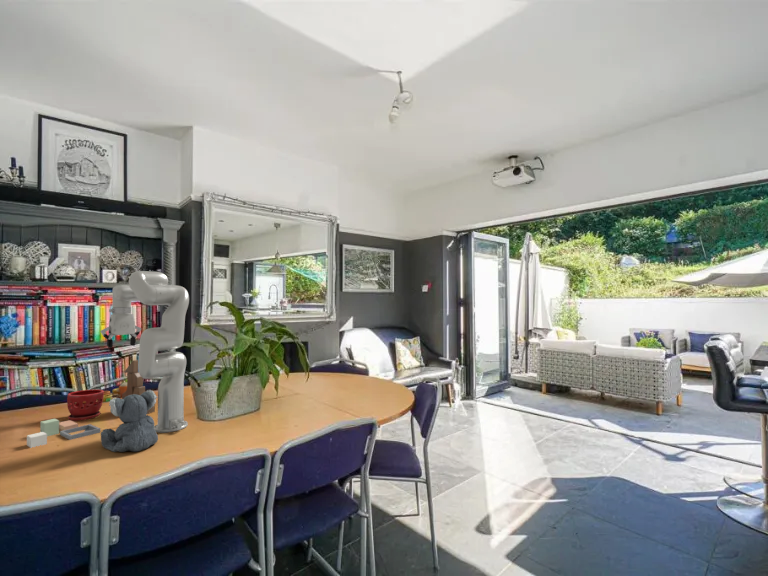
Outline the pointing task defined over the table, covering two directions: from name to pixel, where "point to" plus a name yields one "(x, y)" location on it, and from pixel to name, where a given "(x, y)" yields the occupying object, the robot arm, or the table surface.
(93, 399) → the plant pot
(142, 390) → the wooden toy
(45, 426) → the sage block
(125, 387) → the toy tea set
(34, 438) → the cream cube
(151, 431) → the koala plush
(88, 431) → the grey tray
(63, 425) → the terracotta brick
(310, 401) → the table surface
